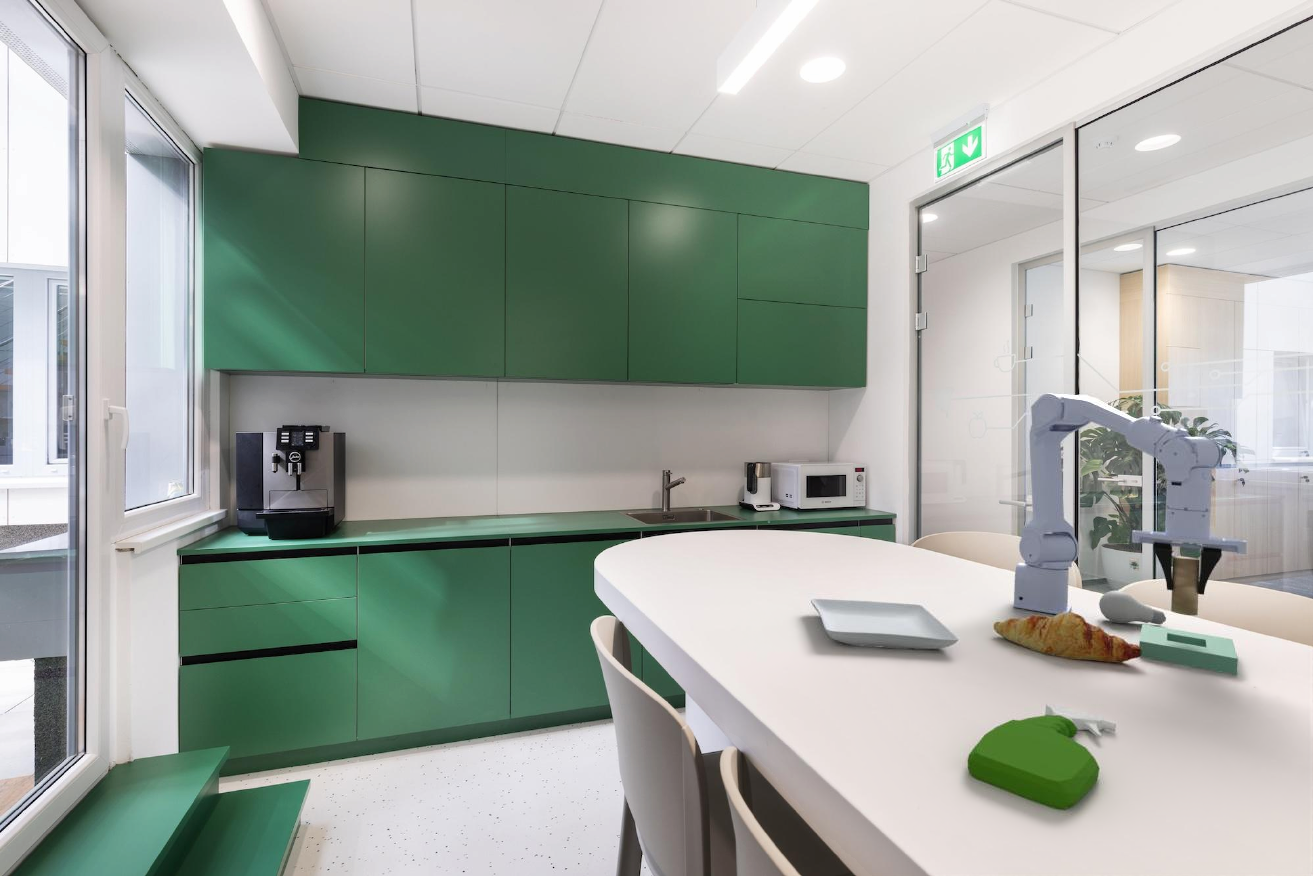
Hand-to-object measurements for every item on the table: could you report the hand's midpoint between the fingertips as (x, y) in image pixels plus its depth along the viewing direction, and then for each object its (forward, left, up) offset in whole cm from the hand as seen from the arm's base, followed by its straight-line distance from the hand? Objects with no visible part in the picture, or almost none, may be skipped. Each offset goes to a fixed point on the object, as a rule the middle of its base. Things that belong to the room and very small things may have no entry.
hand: (1185, 591), depth 108 cm
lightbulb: (-2, +18, -9) cm, 20 cm away
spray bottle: (-12, -53, -11) cm, 56 cm away
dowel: (0, 0, -4) cm, 4 cm away
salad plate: (-43, -23, -11) cm, 50 cm away
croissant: (-16, -11, -11) cm, 22 cm away
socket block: (0, 0, -11) cm, 11 cm away
